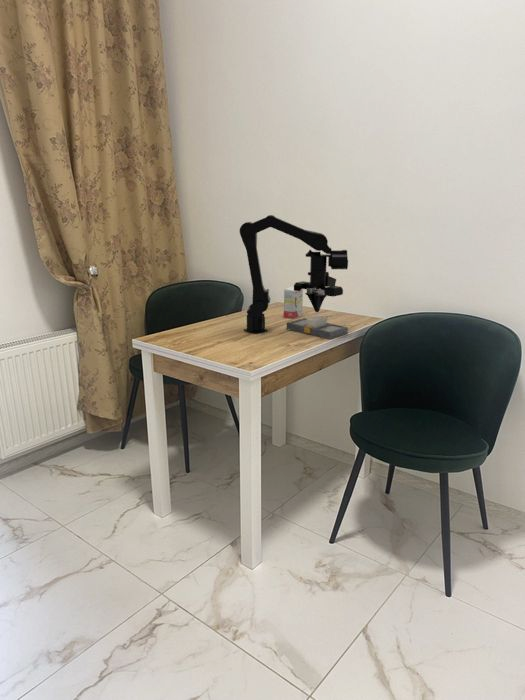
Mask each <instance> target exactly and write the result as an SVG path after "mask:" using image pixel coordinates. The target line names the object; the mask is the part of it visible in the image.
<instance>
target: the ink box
mask: <svg viewBox="0 0 525 700" xmlns="http://www.w3.org/2000/svg"><path fill="white" fill-rule="evenodd" d="M303 298H304V289H301V290H300V291H295V290H294V286H290V287H287V288H284V289H283V318H288V319H295V318H298V317H300V316H302V315H303V302H304V300H303Z"/></svg>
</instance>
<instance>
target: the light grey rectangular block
mask: <svg viewBox="0 0 525 700" xmlns="http://www.w3.org/2000/svg"><path fill="white" fill-rule="evenodd" d="M306 319H307V321H306V326H309V327H313V328H318V327H322V326H325V325H327V323H328V317H325V316H319V315H317V316H314V317H309V318H306Z"/></svg>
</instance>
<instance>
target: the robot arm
mask: <svg viewBox="0 0 525 700" xmlns="http://www.w3.org/2000/svg"><path fill="white" fill-rule="evenodd" d="M269 228H272V229H273V230H277V231H279V232H281V233H285V234H286V235H289V236H291V237H293V238H296V239H298V240H300V241H302V242H303V243H305V244H306V245H307V246H308V247H310V248H312V249H313V250H315V251H312V250H311V249H309V250H308V252H307V253H305V257H306V258H310V261H309V262H310V270H309V272H307V276H309V281H304V280H302V281H298V282H294V284H293V287H294V290H295V291H300V290H301V289H303V290H306V292H305V293H304V294H305V296H306V295H307V298H308V299H309V301H310V303H311V306H312V307H313V310H314V312H315V313H319V311H320V310H321V307H322V305H323V302H324V300H325V298H326V297H337V296H342V295H343V294H344V288H343V287H342V286H337V285H336V284H337V278H334V277H332V276H330V273H329V271H327V265H328V267H330V268H331V269H330V270H348V267H349V260H348V258H349V257H348V250H347V249H342V250H337V249H336V250H333V249H332V247H329V245H328V238H327V237H326V235H325V234H323V233H321V232H317V231H312V230H308V229H304V228H302V227H299V226H297V225H294V224H292V223H290V222H287V221H286V220H283V219H281V218H278V217H276V216H275V215H273V214H269V215H267V216H266V217H264V218H261V219H259V220H256V221H254V222H252V221H247V222H244V223H243V224H241V226H240V228H239V235H240V238H241V240H242V243H243V245H244V247H245V250H246V257H247V263H248V267H249V274H250V278H251V284H252V303H251V304H250V305H249V306H248V308H247V310H246V328H243V331H245V332H248V333H252V334H259V333H263V332H267V331H268V328H266V317H265V313H264V312H267V310H268V308H269V304H270V303H271V297H270V295H269V294H270V289H269V288H268V289H267V288H266V289H265V286H264V283H263V276H262V271H261V265H260V258H259V253H258V247H257V246H258V233H260V232H262V231H264V230H267V229H269ZM321 252H323V253H324V254H323V253H321Z"/></svg>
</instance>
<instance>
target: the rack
mask: <svg viewBox="0 0 525 700" xmlns="http://www.w3.org/2000/svg"><path fill="white" fill-rule="evenodd" d="M307 319H308V318H305V317H304V318H301V319H297V320H291V321H289V322H286V330H288V329H289V330H288V331H293V332H296V333H302V334H306V335H308V336H309V335H310V336H314V337H318V338H322V339H326V340H333V339H335V338H339V337H343V336H346V335H348V333H349V327H348V326H345V325H339V324H333V323H330V322H327V325H325V326H322V327H318V328H313V327H309V326H306V321H307Z"/></svg>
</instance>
